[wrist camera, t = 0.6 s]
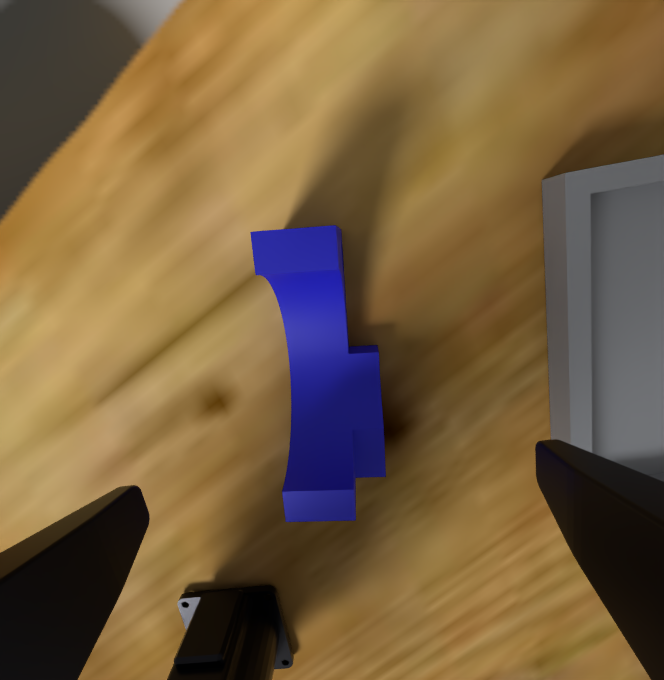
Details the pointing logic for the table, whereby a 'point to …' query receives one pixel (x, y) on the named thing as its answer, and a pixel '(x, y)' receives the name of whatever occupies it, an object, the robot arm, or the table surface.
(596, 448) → the tray
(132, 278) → the table surface
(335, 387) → the blue curved cradle
